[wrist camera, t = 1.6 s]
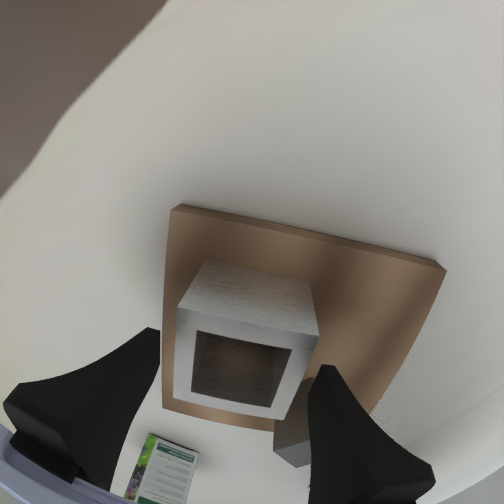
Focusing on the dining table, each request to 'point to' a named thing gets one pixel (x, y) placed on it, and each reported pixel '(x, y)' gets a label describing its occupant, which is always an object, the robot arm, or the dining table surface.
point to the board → (323, 294)
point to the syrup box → (162, 473)
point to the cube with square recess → (243, 340)
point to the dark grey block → (295, 429)
